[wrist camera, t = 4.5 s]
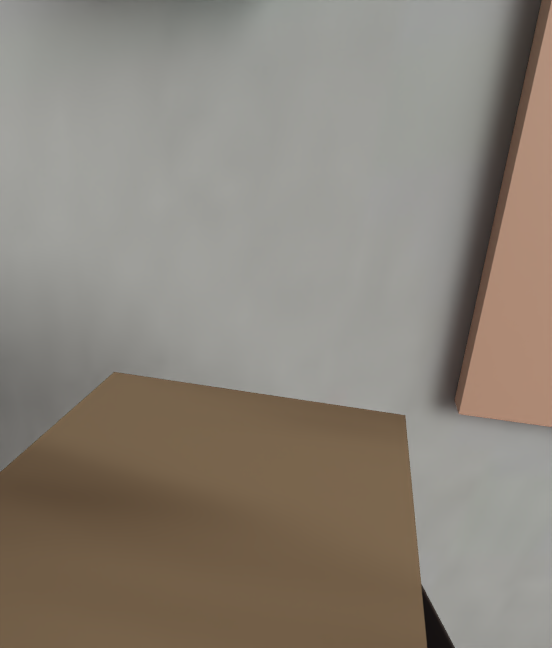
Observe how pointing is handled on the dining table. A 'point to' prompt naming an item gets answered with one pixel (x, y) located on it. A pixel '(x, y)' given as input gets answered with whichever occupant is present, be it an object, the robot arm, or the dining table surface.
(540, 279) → the baseplate
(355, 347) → the dining table surface
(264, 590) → the walnut block
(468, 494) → the dining table surface
